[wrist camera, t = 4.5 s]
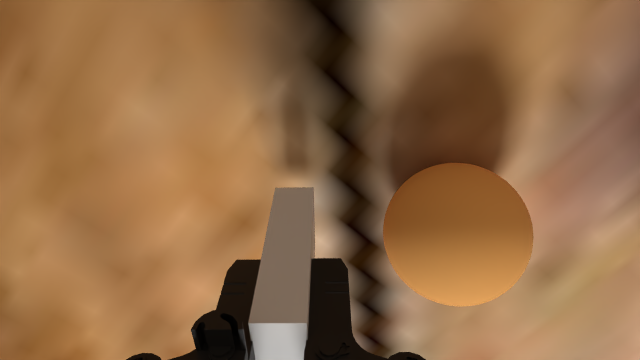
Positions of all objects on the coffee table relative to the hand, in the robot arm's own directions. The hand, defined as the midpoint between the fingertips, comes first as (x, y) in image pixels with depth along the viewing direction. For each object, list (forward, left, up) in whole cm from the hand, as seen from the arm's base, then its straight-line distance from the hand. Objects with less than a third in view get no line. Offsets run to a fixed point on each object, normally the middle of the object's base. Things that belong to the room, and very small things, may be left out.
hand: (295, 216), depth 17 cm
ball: (+6, 0, +1) cm, 6 cm away
